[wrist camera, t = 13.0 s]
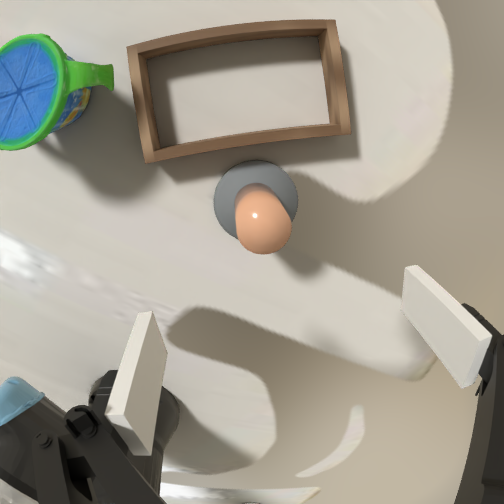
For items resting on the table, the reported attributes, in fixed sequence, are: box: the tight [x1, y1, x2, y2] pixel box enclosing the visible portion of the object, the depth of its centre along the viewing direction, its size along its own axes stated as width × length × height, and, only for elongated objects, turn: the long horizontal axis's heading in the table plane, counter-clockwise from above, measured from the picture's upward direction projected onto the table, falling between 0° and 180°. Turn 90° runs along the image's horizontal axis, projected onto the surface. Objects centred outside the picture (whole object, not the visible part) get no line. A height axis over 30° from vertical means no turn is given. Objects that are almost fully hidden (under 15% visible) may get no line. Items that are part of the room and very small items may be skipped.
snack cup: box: [0, 34, 114, 151], centre depth 23 cm, size 16×11×10 cm
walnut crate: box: [127, 20, 351, 164], centre depth 28 cm, size 12×20×4 cm, turn 98°
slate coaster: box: [214, 160, 298, 239], centre depth 35 cm, size 9×9×1 cm
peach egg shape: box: [234, 183, 292, 254], centre depth 31 cm, size 5×5×8 cm
